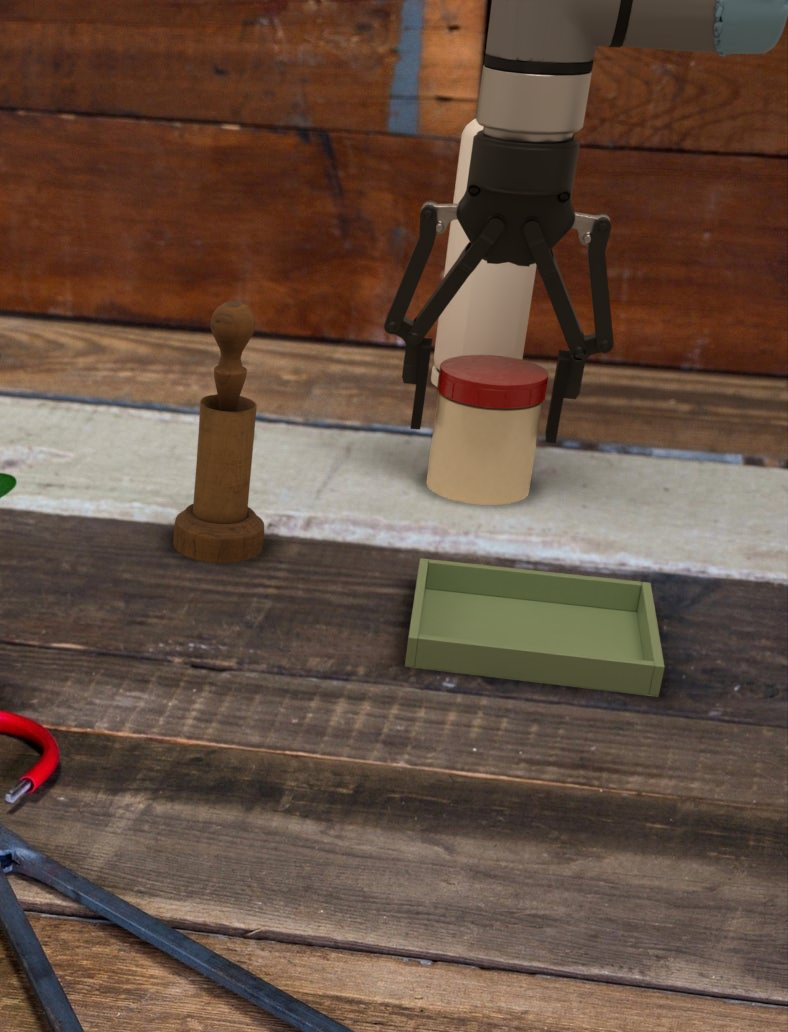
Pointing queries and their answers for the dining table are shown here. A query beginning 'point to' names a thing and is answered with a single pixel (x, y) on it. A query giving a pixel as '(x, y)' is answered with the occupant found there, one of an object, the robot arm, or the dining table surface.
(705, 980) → the dining table surface
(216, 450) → the mortar and pestle
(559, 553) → the dining table surface
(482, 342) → the bottle
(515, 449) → the jam jar
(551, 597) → the tray
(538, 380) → the jam lid
